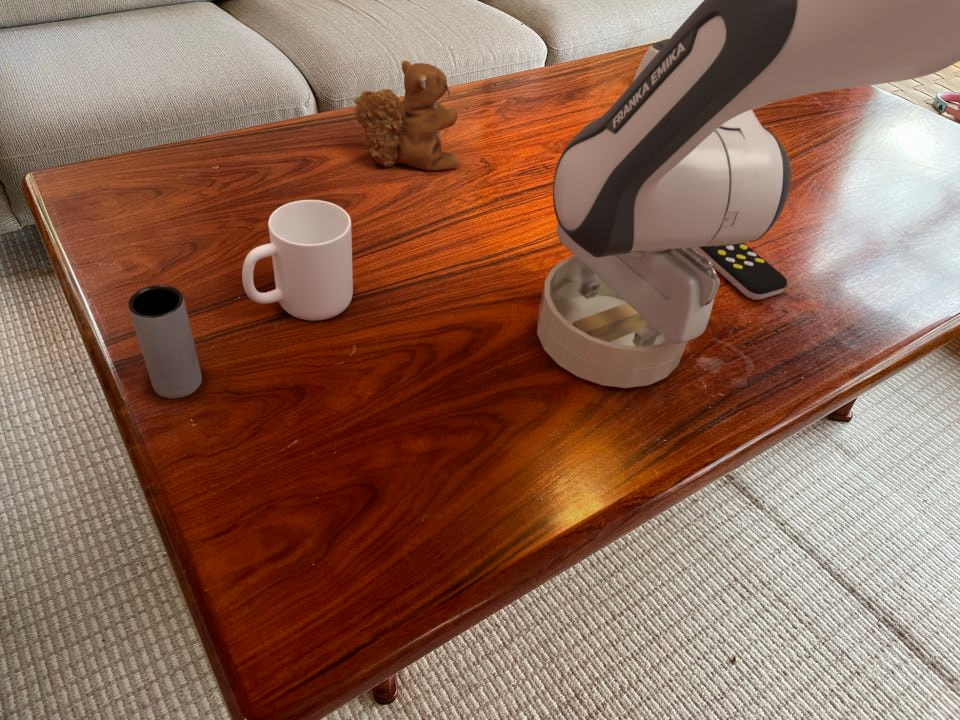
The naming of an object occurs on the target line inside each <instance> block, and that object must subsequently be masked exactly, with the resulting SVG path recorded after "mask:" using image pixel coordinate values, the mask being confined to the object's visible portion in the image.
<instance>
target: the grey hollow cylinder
mask: <svg viewBox="0 0 960 720" xmlns="http://www.w3.org/2000/svg"><path fill="white" fill-rule="evenodd" d="M127 308H128V311H129V315H130V318H131V321H132V325H133V327H134V331H135V334H136V339H137V341H138V344H139V348H140V351H141V354H142V357H143V361H144V364H145V367H146V370H147V373H148V377H149V380H150V383H151V386H152V389H153V391H154V393H156V394H157V395H158V396H160V397H162V398H165V399H180V398H181V399H182V398H186V397H188V396H190V395H191V394H193V393H195V392H196V391H197V390H198V389H199V388H200V386H201V384H202V382H203V375H202V371H201V365H200V361H199V358H198V353H197V350H196V345H195V344H196V343H195V340H194V336H193V332H192V328H191V323H190V320H189V315H188V310H187V305H186V302H185V297H184V295H183V292H182V291H181V290H179V289H178V288H176V287H174V286H171V285H167V284H166V285H165V284H153V285H149V286H146V287H143V288H140V289H139V290H137V291H135V292H134V293H133V294H132V295H131V296H130V297H129V300H128V302H127Z"/></svg>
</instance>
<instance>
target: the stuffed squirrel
mask: <svg viewBox="0 0 960 720" xmlns="http://www.w3.org/2000/svg"><path fill="white" fill-rule="evenodd" d="M401 70H402V73H403V87H404V97H403V99H402V100H400V98H399V97H398V96H397V94H395V93H394V91H393V90H392V89H389V88H383V89H381V90H378V91H374V90H363V92H361V93H360V96H359V97H356V98H353V99H352V101H353V102H354V105H355V106H356V107H355V108H354V109H353V111H354V116H355V119H356V122H357V123H359V125H361V127H362V128H363V129H364V133H363V135H364V144H365V146H366V147H367V151H368V153H369V156H370V157H371V158H372V159H373V160H374V162H376V163H377V164H379V165H382V166H383V167H385V168H390V167H393V166H395V165H396V164H405V165H407V166H409V167H413V168H416V169H419V170H424V171H429V172H430V171H431V172H435V171H447V170H454V169H457V168H458V167H459V165H460V160H459V157H458V156H457V155H455V154H454V153H451V152H447V151H446V152H443V151H442V138H441V133H440V131H441V130H444V129H448V128H451V127H453V126H454V125H455V124H456V122H457V120H458V118H459V117H458V112H457V111H456V110H454V108H448V109H447V108H446V107H445V106H444V105H443V104H442V103H440V102H438V101H439V100H440V99H442V98H443V96H444V95H445V94H446V92H447V94H448V98H449V100H451V98H453V95H452V94H451V90H450V87H449V85H448V80H447V76H446V74H445V72H443V71H442V70H441V69H440V68H438V67H436V66H435V65H432V64H430V63H425V62H417V63H416V62H415V63H413V64H412V63H411V62H410V61H408V60H403V61H402V62H401Z"/></svg>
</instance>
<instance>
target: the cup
mask: <svg viewBox="0 0 960 720" xmlns="http://www.w3.org/2000/svg"><path fill="white" fill-rule="evenodd" d="M267 225H268V234H269V235H268V236H269V242H270V243H269V242H268V243H265V244H262V245H259V246H255V247H254V248H253V249H251V250H250V251H249V252H248V253H247V255H246V256H245V258H244V261H243V265H242V271H241V276H242V277H241V278H242V279H241V280H242V286H243V289H244V292H245V294H246V295H247V297H248V299H250V300H252V301H253V302H254V303H257V304H263V305H264V304H265V305H266V304H267V305H268V304H274V303H277V302H278V303H279V305H280V306H281V308H282V309H283V310H284V311H285V312H286V313H287V314H289V315H290V316H292V317H294V318H296V319H301V320H305V321H324V320H328V319H332V318H334V317H336V316H338V315H340V314H342V313H343V312H344V311H345V310H346V309H347V308H348V307H349V306H350V303H351V302H352V300H353V295H354V294H353V293H354V278H353V243H352V242H353V241H352V240H353V238H352V237H353V235H352V219H351V216H350V215H349V213H348V212H347V211H346V210H345V209H344V208H342V207H341V206H339V205H337V204H335V203H333V202H330V201H325V200H320V199H302V200H295V201H291V202H288V203H285V204H283V205H281V206H279V207H277V208H276V209H275V210H274V211H272V213H271V215H270V216H269V218H268V222H267ZM269 257H271V258H272V259H271V260H272V268H273V275H274V285H275V289H273V290H269V291H267V292H260V291H258V290H257V289H256V286H255V283H254V271H255V266H256V264H257V262H259V260H261V259H264V258H269Z"/></svg>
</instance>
